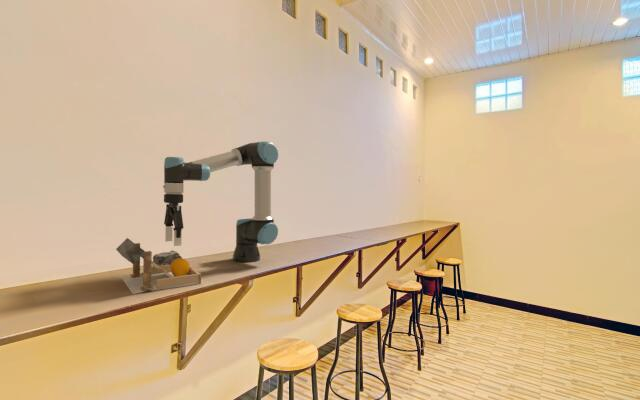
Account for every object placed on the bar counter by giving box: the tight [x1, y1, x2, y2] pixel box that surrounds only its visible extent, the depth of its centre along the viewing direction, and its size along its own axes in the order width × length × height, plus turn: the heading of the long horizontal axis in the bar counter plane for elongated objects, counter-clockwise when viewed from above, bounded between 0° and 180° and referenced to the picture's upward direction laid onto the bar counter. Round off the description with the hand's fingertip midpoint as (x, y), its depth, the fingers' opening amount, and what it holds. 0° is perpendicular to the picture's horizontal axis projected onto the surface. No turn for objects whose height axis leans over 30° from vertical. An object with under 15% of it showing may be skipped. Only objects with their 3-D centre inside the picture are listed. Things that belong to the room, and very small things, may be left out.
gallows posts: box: [129, 242, 154, 293], centre depth 136 cm, size 4×26×15 cm, turn 38°
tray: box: [122, 265, 202, 295], centre depth 141 cm, size 25×24×4 cm
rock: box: [152, 250, 183, 267], centre depth 161 cm, size 16×8×10 cm, turn 142°
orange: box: [171, 257, 191, 277], centre depth 145 cm, size 8×8×8 cm
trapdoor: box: [116, 237, 172, 278], centre depth 137 cm, size 23×19×6 cm
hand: (173, 243), depth 143 cm, fingers open, 13 cm apart
